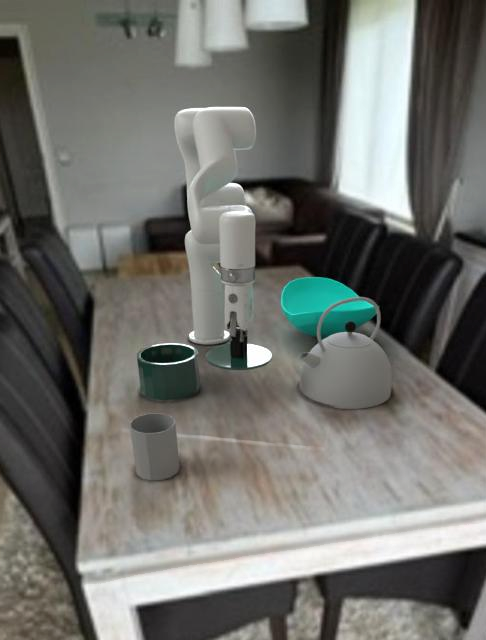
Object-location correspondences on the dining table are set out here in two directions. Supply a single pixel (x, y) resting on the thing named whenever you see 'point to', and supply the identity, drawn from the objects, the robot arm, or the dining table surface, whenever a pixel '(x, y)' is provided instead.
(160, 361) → the pot
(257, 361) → the pot lid
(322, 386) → the kettle
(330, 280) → the table top decor
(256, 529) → the dining table surface
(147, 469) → the cup
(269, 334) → the dining table surface
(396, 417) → the dining table surface
